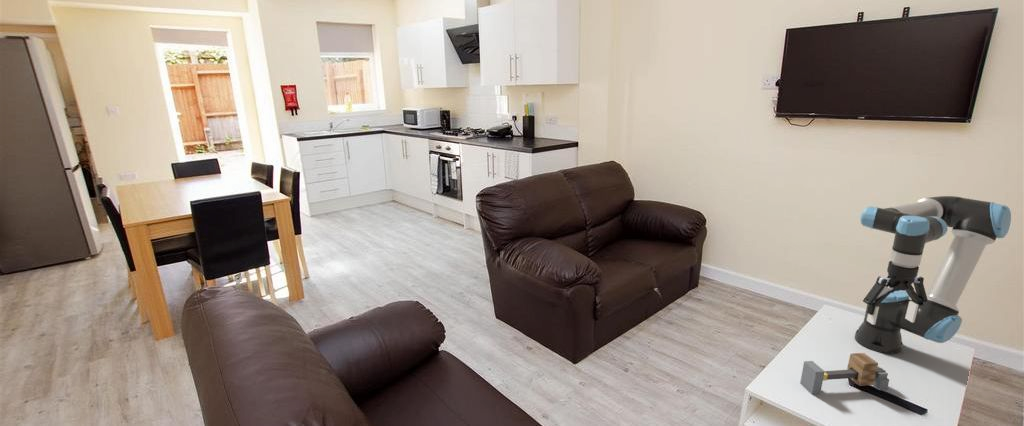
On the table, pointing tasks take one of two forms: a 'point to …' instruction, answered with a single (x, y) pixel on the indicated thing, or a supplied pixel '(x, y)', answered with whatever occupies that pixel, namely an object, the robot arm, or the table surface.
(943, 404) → the table surface
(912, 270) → the robot arm
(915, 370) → the table surface
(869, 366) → the wooden block on rod
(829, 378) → the rod rig
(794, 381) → the table surface
